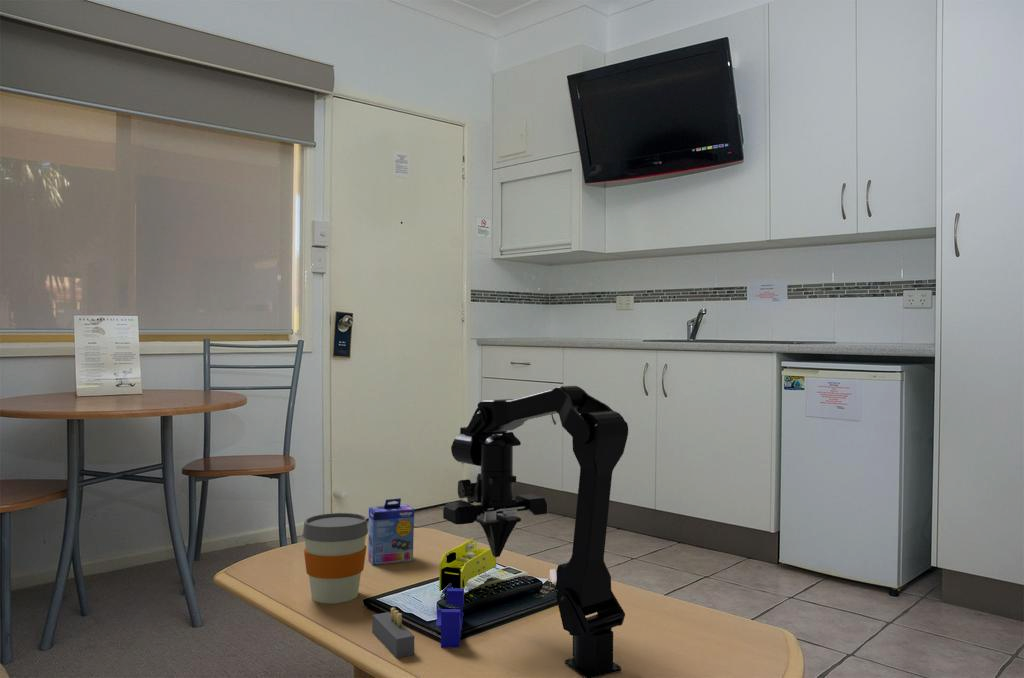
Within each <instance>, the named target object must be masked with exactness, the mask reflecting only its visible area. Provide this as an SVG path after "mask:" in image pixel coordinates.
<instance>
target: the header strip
mask: <svg viewBox="0 0 1024 678" xmlns="http://www.w3.org/2000/svg"><path fill="white" fill-rule="evenodd" d="M371 620H372V627H371V628H372V629H371V633H372V634H373V635H374V636H375V637H376V638H377V640H379V641H380V643H382V644H383V645H384V646H385V648H386V649H387V650H389V652H390V653H391V654H392V655H393V656H394V657H395V658H396V659H398V658H404V657H408V656H414V655H415V634H413V632H411V631H410V629H408V628H407V627H406V626H405V625H403V623H402V622H403V613H401V612H399V610H397V608H396V607H391V608H390V612H389V611H388V612H387V611H386V612H381V613H375V614H372V617H371Z"/></svg>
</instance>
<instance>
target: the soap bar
mask: <svg viewBox="0 0 1024 678" xmlns="http://www.w3.org/2000/svg"><path fill="white" fill-rule="evenodd" d="M556 571H557V568H550V570H549V581H550V580H551V582H552V584H554V585H556V581H557V572H556Z"/></svg>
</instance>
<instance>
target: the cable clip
mask: <svg viewBox="0 0 1024 678" xmlns="http://www.w3.org/2000/svg"><path fill="white" fill-rule="evenodd" d="M445 600H446V604H452V605H454V606H456V607H460V609H440V608H439V607H437V611H436V621H435V627H436V626H439V627H441V633H440V648H443V649H446V648H448V649H449V648H450V649H452V648H460V646H461V645H460V644H461V639H462V634H461V628H462V622H463V616H464V615H465V614H464V613H465V612H464V613H463V604H464V605H465V596H464V588H447V596H446V599H445ZM446 604H445V605H446ZM463 623H464V622H463ZM462 629H463V628H462ZM460 638H461V639H460Z"/></svg>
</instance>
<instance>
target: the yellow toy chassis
mask: <svg viewBox="0 0 1024 678" xmlns="http://www.w3.org/2000/svg"><path fill="white" fill-rule="evenodd" d="M477 546H478V545H477V542H476V541H475V540H474V539H473V538H470V540H467V541H465V542H463V543H462V544H460V545H459V544H458V546H455V547H454V548H452V549H450V550H448V551H446V552H444V553H443V555H442V556H441V560H440V561H439V570H438V571H439V573H438V575H439V576H438V577H439V584H438V585H439V588H438V590H439V591H441V590H443V589H444V588H445V587H446V586H447V585H448V584H449V583H452V587H453V588H465V586H466V583H467V581H468V580H469V579H471V578H473V577H475V576H477V575H480V574H482V573H484V572H486V571H488V570H490V569H492V568H493V567H496V568H497V557H494V556H493V554H492V551H491V548H490V547H489V548H482V547H481V548H480V547H479V548H478V547H477Z"/></svg>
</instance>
